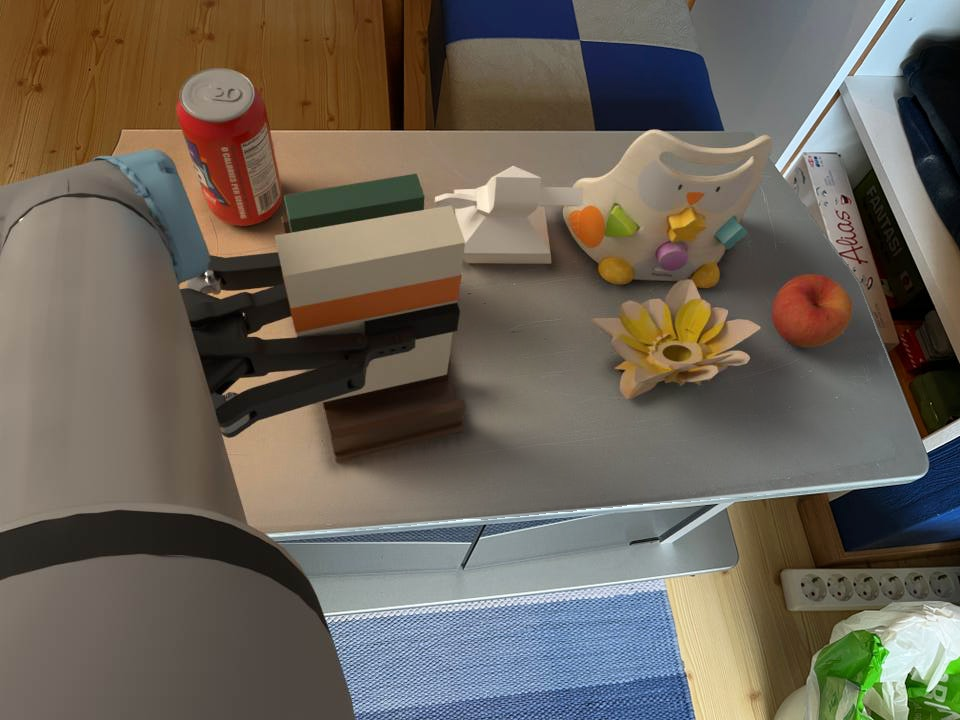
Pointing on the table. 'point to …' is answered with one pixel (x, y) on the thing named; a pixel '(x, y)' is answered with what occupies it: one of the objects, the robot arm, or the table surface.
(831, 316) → the apple
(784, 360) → the table surface
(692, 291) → the decorative flower
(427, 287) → the book
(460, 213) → the white angular piece
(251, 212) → the soda can
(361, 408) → the book rack
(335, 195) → the green book
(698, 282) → the shape sorter
